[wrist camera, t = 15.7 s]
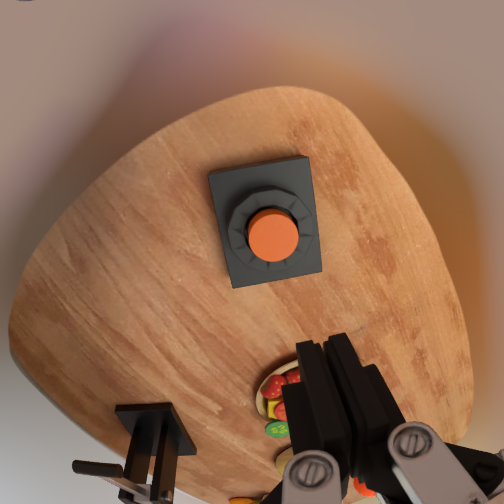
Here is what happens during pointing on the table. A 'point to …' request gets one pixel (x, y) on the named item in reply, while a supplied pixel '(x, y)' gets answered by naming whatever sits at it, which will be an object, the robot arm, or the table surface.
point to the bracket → (153, 448)
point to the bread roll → (283, 460)
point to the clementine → (363, 488)
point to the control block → (260, 198)
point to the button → (272, 235)
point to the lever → (114, 478)
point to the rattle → (245, 501)
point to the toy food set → (278, 398)
